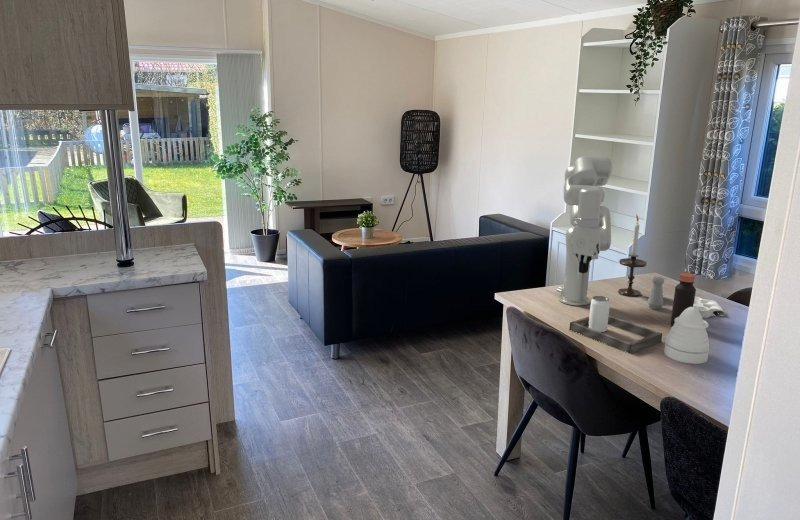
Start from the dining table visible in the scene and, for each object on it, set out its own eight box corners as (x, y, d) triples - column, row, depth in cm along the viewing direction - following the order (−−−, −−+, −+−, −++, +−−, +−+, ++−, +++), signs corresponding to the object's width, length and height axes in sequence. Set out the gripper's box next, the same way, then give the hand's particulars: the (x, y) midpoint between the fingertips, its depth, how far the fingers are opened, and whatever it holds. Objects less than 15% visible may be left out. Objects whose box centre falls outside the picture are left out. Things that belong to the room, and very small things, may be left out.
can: (607, 327, 215) (610, 296, 212) (606, 334, 209) (610, 302, 206) (588, 325, 217) (591, 294, 214) (588, 331, 211) (591, 300, 208)
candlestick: (611, 293, 254) (619, 213, 245) (623, 288, 261) (632, 210, 252) (635, 299, 247) (645, 217, 238) (647, 293, 254) (657, 214, 245)
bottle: (674, 321, 221) (681, 271, 216) (693, 326, 217) (700, 274, 211) (667, 326, 217) (674, 274, 212) (686, 331, 212) (693, 278, 207)
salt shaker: (660, 305, 239) (664, 275, 235) (664, 310, 233) (668, 279, 230) (645, 305, 239) (648, 274, 236) (649, 310, 234) (653, 279, 230)
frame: (569, 330, 212) (569, 322, 212) (600, 320, 223) (600, 312, 222) (630, 353, 193) (631, 345, 192) (661, 341, 203) (662, 333, 202)
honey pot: (716, 361, 188) (725, 308, 183) (683, 365, 184) (691, 311, 180) (687, 345, 200) (694, 295, 195) (655, 349, 196) (662, 298, 192)
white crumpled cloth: (726, 320, 224) (685, 317, 228) (714, 305, 241) (676, 302, 244) (728, 312, 223) (686, 309, 227) (716, 297, 240) (677, 294, 244)
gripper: (564, 220, 214) (560, 269, 218) (598, 227, 202) (593, 278, 206) (577, 219, 218) (573, 266, 222) (612, 225, 206) (607, 275, 211)
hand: (583, 272), depth 214 cm, fingers closed
